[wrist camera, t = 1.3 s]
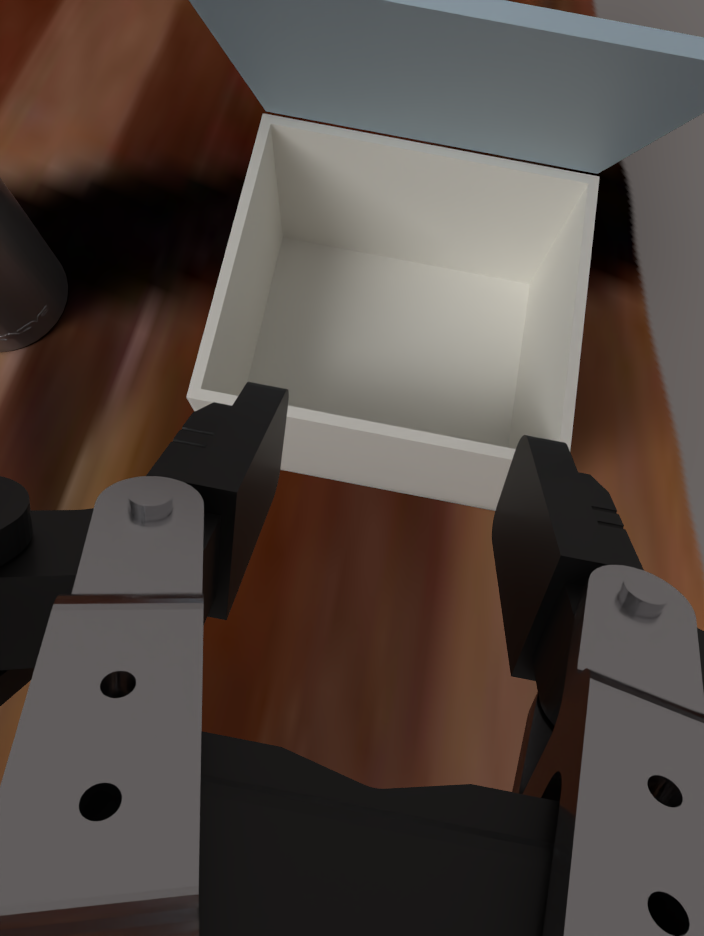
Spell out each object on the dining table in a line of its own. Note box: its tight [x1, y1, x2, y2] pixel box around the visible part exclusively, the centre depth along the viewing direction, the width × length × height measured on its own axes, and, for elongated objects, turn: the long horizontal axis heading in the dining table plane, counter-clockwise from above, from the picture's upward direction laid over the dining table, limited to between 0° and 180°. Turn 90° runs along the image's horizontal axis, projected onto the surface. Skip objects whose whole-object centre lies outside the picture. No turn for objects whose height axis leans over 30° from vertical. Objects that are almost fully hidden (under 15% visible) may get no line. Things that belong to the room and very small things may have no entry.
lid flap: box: [189, 0, 704, 174], centre depth 29 cm, size 18×20×1 cm
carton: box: [187, 113, 599, 511], centre depth 42 cm, size 18×20×12 cm
